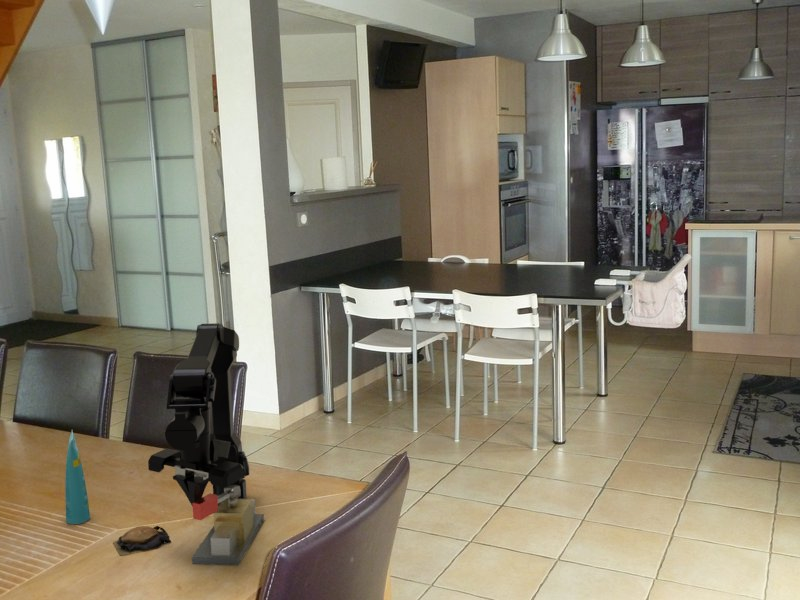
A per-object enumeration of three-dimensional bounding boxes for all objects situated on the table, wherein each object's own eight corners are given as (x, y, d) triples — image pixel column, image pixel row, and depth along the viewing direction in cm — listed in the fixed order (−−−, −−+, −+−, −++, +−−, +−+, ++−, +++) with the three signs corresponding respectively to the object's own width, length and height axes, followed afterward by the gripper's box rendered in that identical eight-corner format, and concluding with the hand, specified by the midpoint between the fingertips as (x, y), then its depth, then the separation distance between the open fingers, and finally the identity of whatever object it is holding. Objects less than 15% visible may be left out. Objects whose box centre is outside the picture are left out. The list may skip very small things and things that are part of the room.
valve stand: (192, 564, 156) (189, 518, 155) (222, 520, 176) (220, 478, 174) (238, 565, 155) (236, 518, 154) (264, 520, 175) (262, 479, 174)
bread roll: (119, 560, 160) (118, 543, 159) (111, 543, 167) (110, 526, 166) (174, 547, 165) (173, 530, 164) (164, 531, 172) (163, 514, 172)
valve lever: (231, 495, 166) (230, 480, 166) (244, 497, 165) (243, 482, 164) (190, 518, 156) (189, 502, 155) (203, 521, 154) (202, 504, 154)
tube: (91, 524, 175) (84, 437, 172) (67, 528, 173) (59, 441, 170) (88, 511, 182) (81, 428, 179) (64, 516, 180) (57, 431, 177)
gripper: (260, 427, 159) (260, 503, 161) (183, 412, 167) (185, 485, 169) (225, 444, 149) (226, 525, 151) (145, 428, 157) (147, 505, 159)
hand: (196, 509), depth 158 cm, fingers closed
